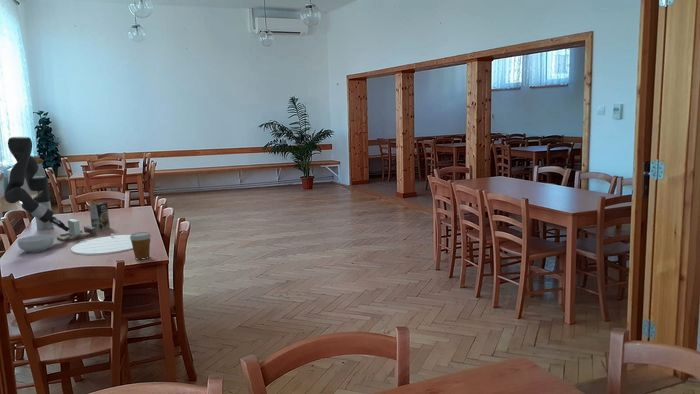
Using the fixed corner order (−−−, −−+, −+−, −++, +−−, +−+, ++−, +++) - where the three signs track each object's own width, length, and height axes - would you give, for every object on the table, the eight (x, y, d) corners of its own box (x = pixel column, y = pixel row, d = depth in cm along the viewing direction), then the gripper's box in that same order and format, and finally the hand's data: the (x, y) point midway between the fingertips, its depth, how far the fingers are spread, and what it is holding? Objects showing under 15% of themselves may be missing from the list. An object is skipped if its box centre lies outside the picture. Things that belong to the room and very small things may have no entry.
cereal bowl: (62, 247, 294) (60, 234, 292) (36, 255, 278) (34, 242, 277) (38, 245, 299) (37, 233, 298) (11, 254, 284) (9, 240, 282)
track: (64, 242, 305) (63, 234, 305) (57, 239, 313) (56, 231, 312) (96, 235, 318) (96, 228, 318) (89, 233, 326) (88, 225, 325)
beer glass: (135, 256, 269) (132, 232, 267) (155, 254, 270) (152, 231, 268) (129, 261, 260) (126, 237, 258) (149, 260, 261) (147, 235, 259)
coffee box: (101, 231, 330) (98, 204, 327) (91, 231, 331) (88, 205, 328) (110, 227, 339) (107, 202, 336) (101, 227, 340) (98, 202, 337)
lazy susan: (74, 242, 306) (74, 236, 305) (148, 233, 320) (148, 227, 319) (67, 259, 269) (66, 253, 269) (151, 249, 283) (150, 242, 283)
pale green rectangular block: (75, 236, 310) (73, 221, 309) (69, 234, 316) (67, 219, 315) (80, 235, 313) (78, 220, 311) (74, 233, 319) (72, 219, 317)
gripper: (50, 208, 298) (76, 226, 308) (42, 206, 307) (67, 223, 317) (41, 219, 295) (68, 237, 306) (33, 216, 304) (59, 233, 315)
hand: (67, 230), depth 311 cm, fingers closed
